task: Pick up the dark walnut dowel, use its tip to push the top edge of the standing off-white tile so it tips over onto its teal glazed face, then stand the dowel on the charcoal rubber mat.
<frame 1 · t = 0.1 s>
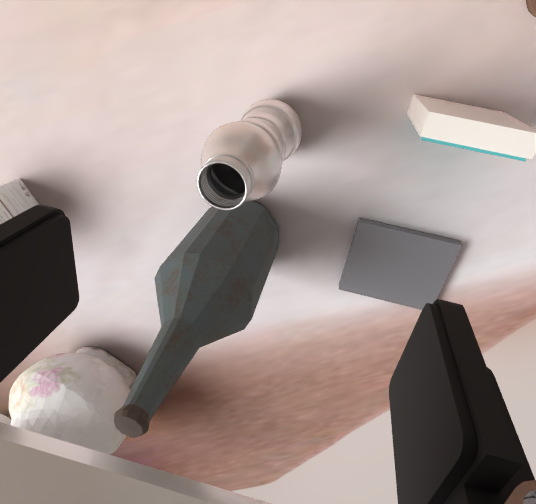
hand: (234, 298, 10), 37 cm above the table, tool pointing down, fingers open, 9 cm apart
ceramic pitcher: (99, 371, 72), on the table
mat: (395, 263, 49), on the table
plastic bottle: (275, 126, 44), on the table
bottle: (243, 229, 52), on the table
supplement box: (21, 207, 57), on the table
tile: (454, 113, 40), on the table
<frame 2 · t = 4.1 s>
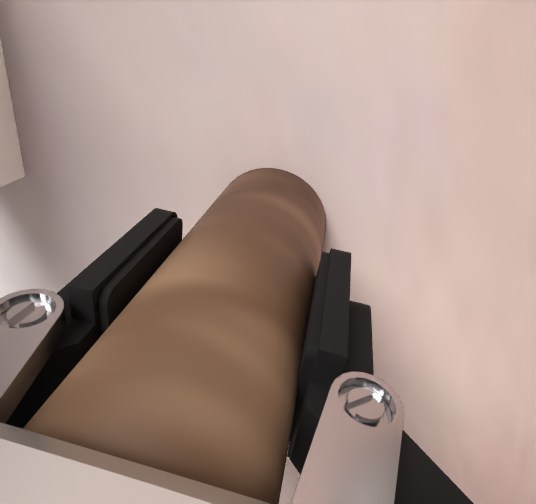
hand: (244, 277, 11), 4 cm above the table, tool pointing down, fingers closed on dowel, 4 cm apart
dowel: (270, 221, 14), on the table, touching gripper
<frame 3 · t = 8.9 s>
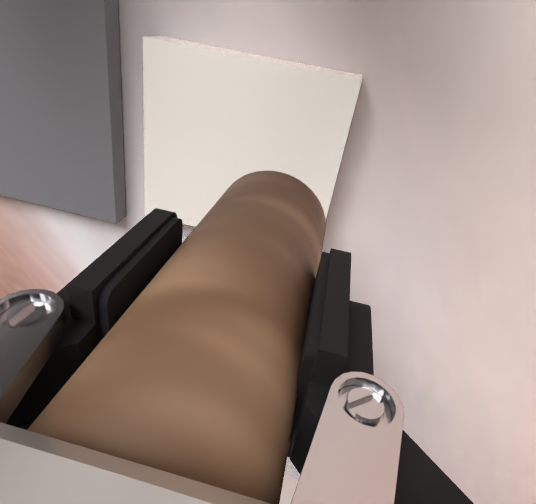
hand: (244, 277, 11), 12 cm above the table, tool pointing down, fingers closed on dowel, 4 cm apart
mat: (40, 101, 22), on the table
dowel: (270, 223, 14), point 8 cm above the table, touching gripper
tile: (337, 172, 20), point 1 cm above the table, tilted 90°
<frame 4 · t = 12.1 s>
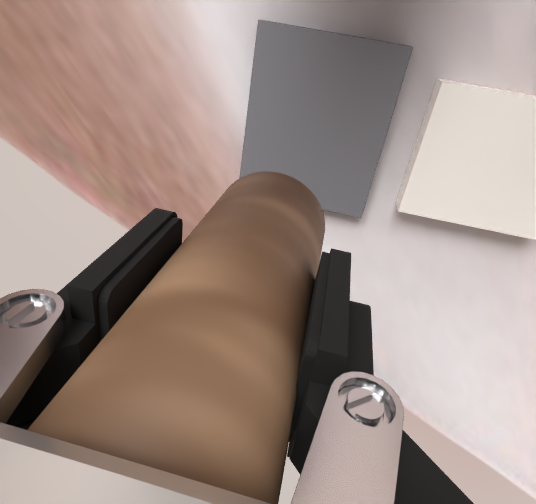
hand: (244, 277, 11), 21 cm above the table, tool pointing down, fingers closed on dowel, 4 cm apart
mat: (315, 124, 29), on the table
dowel: (270, 224, 14), point 17 cm above the table, touching gripper
when the fingers open (6 cm above the table, at t = 15.1 s): dowel drops 1 cm, resting on mat.
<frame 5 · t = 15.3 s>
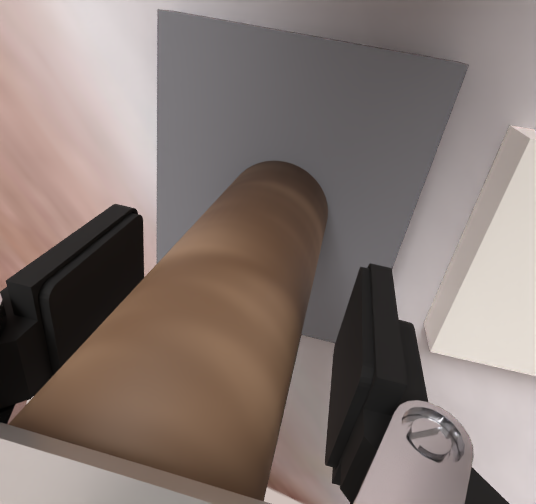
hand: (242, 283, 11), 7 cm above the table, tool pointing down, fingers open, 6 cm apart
mat: (281, 197, 16), on the table
dowel: (276, 210, 15), point 1 cm above the table, touching mat
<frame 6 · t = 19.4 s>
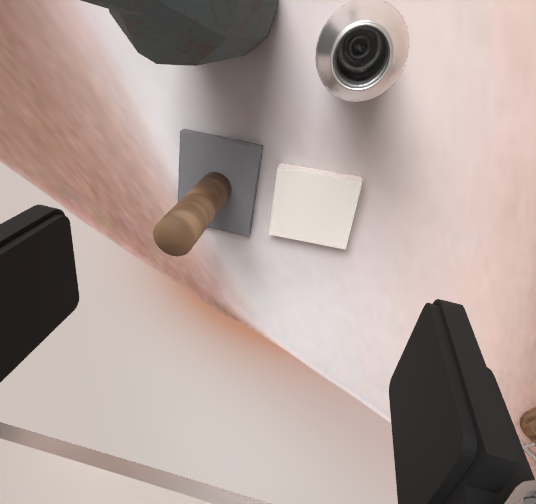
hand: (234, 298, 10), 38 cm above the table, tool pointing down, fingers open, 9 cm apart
mat: (219, 183, 51), on the table
dowel: (216, 187, 50), point 1 cm above the table, touching mat
plastic bottle: (359, 46, 40), on the table
bottle: (231, 1, 41), on the table
tile: (353, 214, 48), point 1 cm above the table, tilted 90°
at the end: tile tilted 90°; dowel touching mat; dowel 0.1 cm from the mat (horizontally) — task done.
